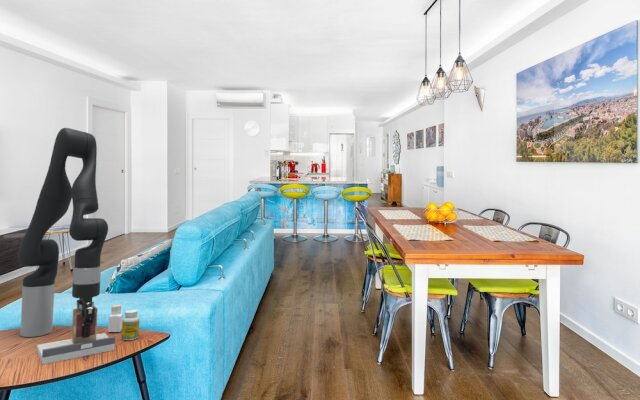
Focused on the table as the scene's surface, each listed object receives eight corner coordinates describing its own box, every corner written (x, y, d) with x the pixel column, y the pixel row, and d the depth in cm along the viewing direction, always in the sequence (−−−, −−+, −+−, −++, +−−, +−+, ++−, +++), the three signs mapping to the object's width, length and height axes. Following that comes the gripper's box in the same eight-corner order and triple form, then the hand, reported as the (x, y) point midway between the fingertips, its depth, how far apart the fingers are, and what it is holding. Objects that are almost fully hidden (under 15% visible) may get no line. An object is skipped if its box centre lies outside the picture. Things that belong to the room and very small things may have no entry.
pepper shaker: (120, 332, 139) (121, 306, 139) (107, 333, 138) (109, 307, 138) (122, 329, 143) (123, 304, 143) (110, 330, 142) (111, 304, 142)
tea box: (71, 340, 120) (72, 309, 120) (93, 337, 124) (94, 306, 124) (74, 344, 117) (75, 311, 117) (96, 340, 121) (97, 308, 121)
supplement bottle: (137, 335, 137) (138, 308, 137) (139, 339, 133) (141, 312, 133) (120, 337, 134) (122, 310, 135) (122, 342, 130) (123, 314, 130)
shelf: (36, 351, 120) (37, 338, 120) (104, 338, 133) (104, 327, 133) (42, 364, 110) (43, 350, 110) (114, 350, 123) (115, 337, 123)
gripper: (105, 283, 118) (103, 339, 118) (94, 276, 129) (92, 327, 128) (77, 286, 113) (74, 344, 113) (68, 278, 124) (65, 331, 123)
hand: (84, 335), depth 121 cm, fingers closed on tea box, 4 cm apart
